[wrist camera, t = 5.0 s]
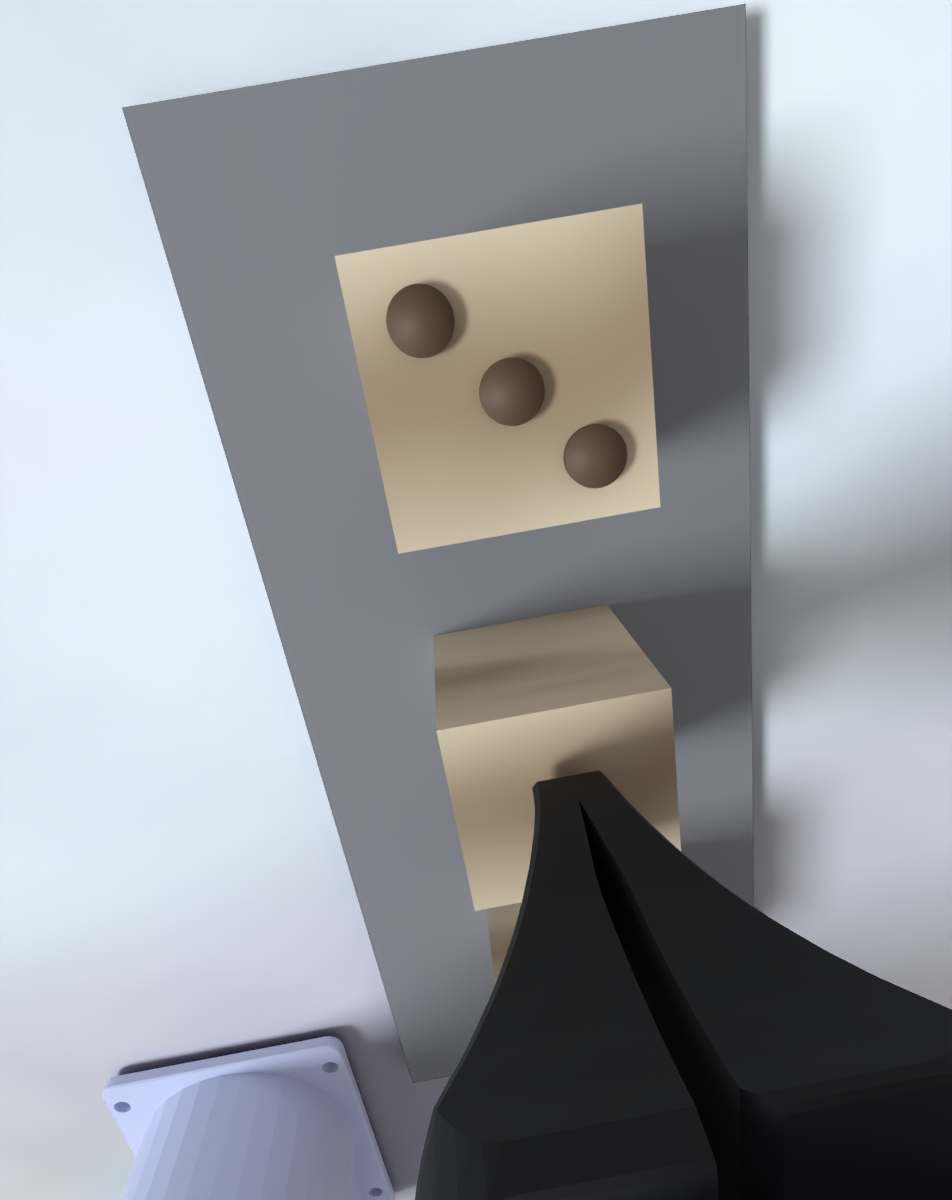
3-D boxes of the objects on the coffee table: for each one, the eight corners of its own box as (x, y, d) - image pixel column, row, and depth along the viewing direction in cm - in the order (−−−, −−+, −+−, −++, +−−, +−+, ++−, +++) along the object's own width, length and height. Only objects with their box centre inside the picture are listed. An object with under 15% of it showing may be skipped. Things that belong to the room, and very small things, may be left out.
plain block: (620, 752, 18) (682, 872, 14) (462, 781, 18) (475, 910, 13) (606, 604, 16) (670, 687, 12) (433, 635, 16) (436, 730, 12)
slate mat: (746, 1001, 22) (754, 1017, 22) (412, 1065, 22) (413, 1083, 22) (731, 19, 13) (745, 3, 12) (135, 119, 12) (122, 108, 12)
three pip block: (593, 468, 15) (664, 509, 11) (405, 501, 15) (397, 557, 10) (573, 255, 13) (647, 199, 9) (363, 291, 13) (331, 252, 9)
